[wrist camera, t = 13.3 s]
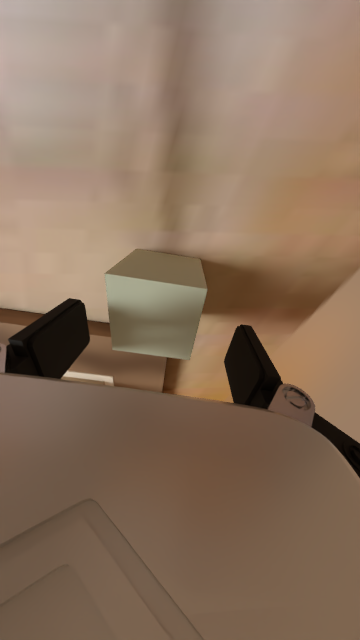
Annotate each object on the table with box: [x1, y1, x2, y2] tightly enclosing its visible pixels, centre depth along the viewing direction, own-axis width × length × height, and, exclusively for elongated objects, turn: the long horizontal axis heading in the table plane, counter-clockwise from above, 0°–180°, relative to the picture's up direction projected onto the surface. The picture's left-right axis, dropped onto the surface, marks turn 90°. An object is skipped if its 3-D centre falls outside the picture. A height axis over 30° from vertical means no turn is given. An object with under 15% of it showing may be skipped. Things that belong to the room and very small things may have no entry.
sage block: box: [105, 249, 207, 360], centre depth 12 cm, size 5×5×6 cm
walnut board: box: [0, 308, 167, 393], centre depth 21 cm, size 18×18×2 cm
